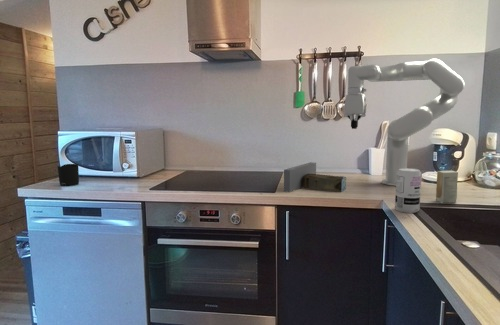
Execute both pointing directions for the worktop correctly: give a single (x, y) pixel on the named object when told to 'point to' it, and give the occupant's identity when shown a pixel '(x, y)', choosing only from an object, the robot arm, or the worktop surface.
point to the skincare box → (446, 186)
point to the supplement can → (408, 190)
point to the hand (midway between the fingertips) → (354, 128)
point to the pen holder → (68, 174)
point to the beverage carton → (324, 182)
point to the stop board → (297, 176)
